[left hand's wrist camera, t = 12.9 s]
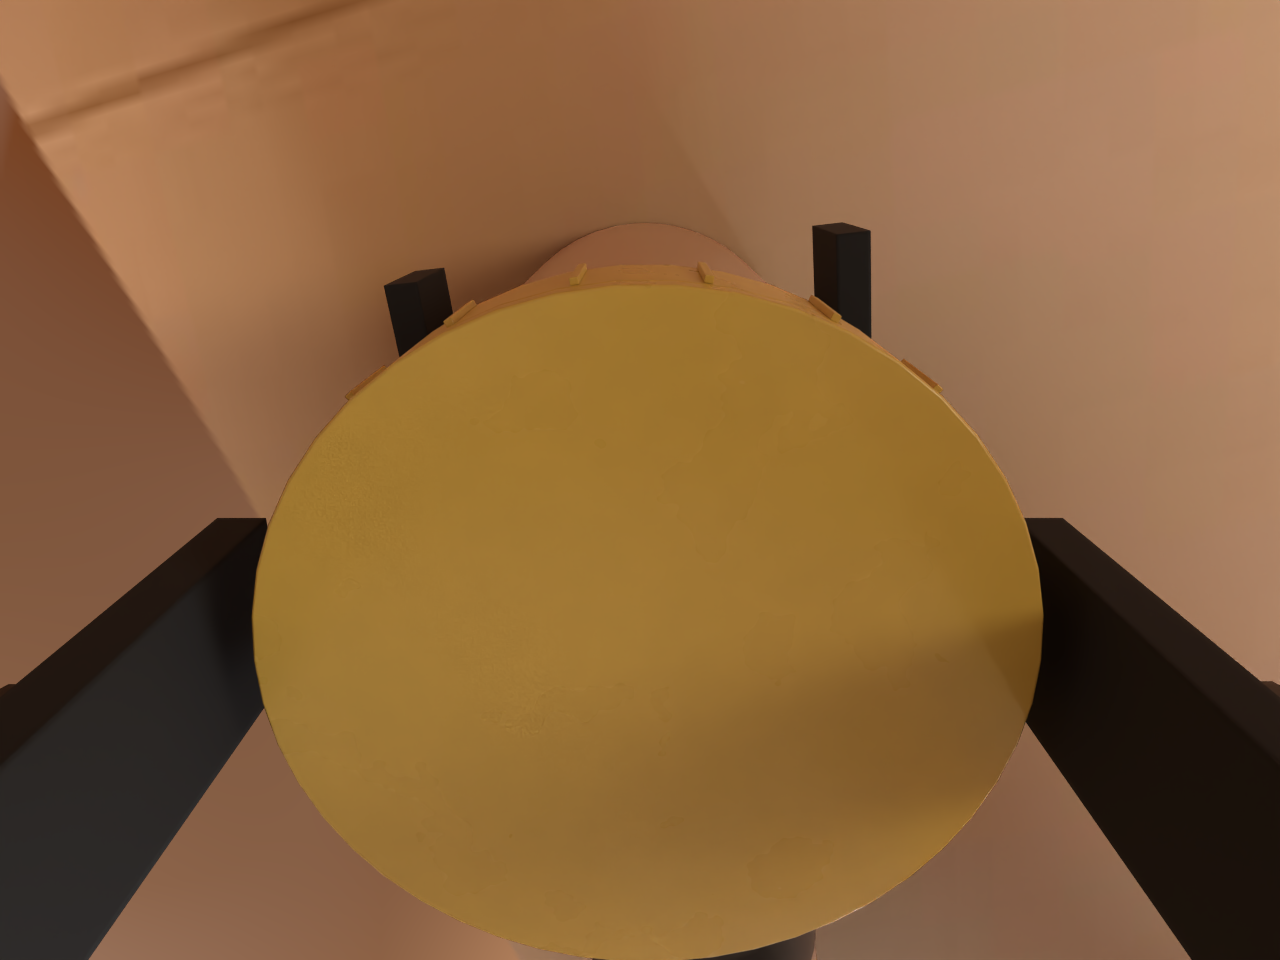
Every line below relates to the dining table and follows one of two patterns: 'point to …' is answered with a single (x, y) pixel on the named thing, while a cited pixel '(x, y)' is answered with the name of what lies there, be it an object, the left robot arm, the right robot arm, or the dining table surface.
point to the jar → (644, 251)
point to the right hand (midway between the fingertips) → (625, 252)
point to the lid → (647, 616)
